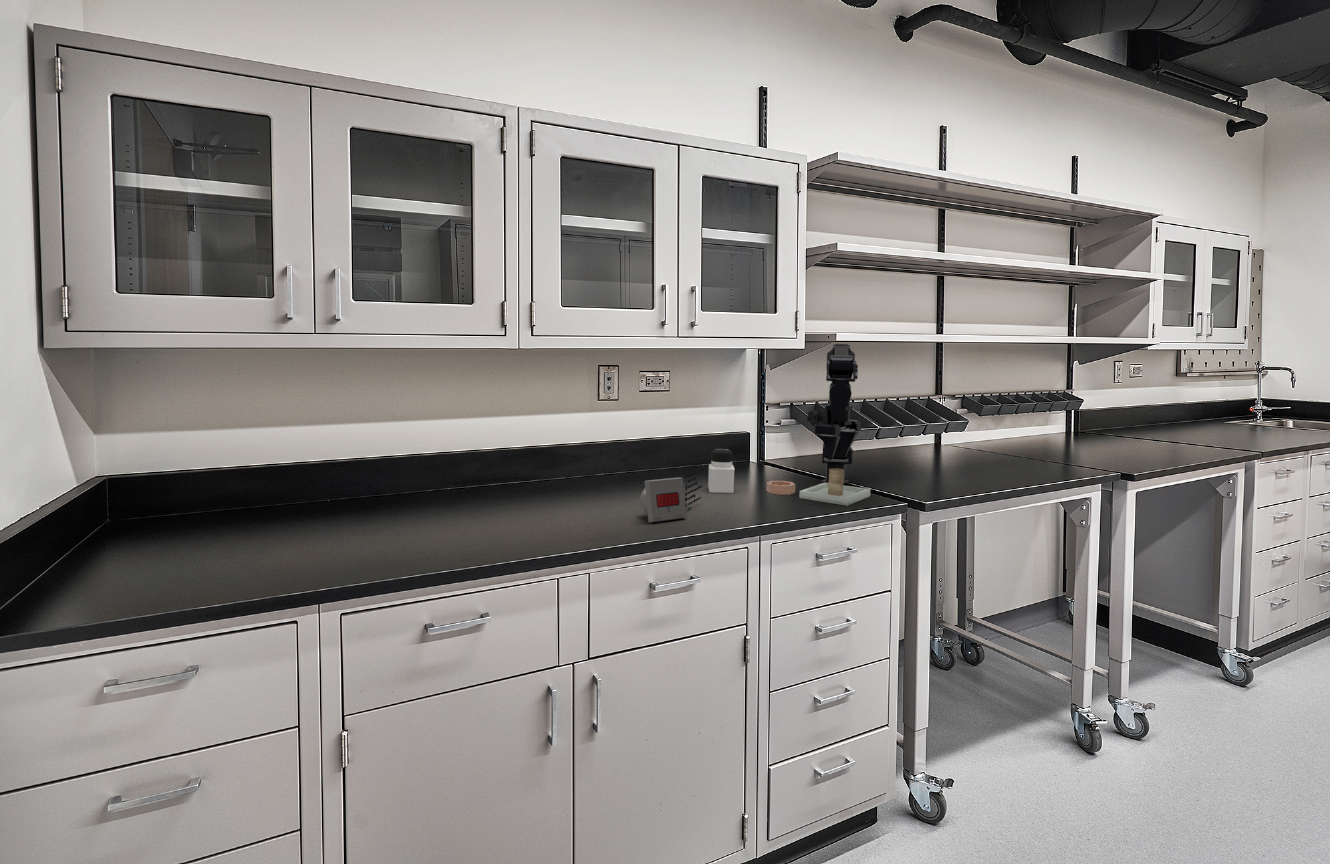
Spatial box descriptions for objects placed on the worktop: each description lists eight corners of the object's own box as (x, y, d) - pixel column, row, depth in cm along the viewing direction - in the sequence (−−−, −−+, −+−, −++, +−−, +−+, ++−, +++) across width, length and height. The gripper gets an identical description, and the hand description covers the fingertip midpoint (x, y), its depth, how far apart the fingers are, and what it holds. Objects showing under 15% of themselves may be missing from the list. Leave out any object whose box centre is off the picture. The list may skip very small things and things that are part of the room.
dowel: (831, 492, 198) (832, 467, 198) (845, 494, 196) (846, 469, 195) (825, 494, 195) (826, 469, 195) (839, 496, 193) (840, 471, 192)
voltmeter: (674, 527, 161) (675, 485, 159) (629, 521, 165) (630, 480, 164) (712, 504, 185) (713, 467, 184) (673, 499, 189) (673, 464, 188)
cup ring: (775, 488, 207) (775, 479, 207) (798, 491, 202) (799, 483, 202) (762, 492, 201) (762, 483, 201) (786, 495, 196) (786, 487, 196)
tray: (824, 489, 206) (824, 482, 206) (870, 496, 198) (870, 489, 198) (799, 498, 194) (799, 490, 193) (847, 505, 185) (847, 498, 185)
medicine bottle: (734, 493, 199) (735, 451, 197) (709, 492, 199) (710, 451, 197) (732, 488, 206) (733, 448, 204) (708, 487, 206) (709, 447, 204)
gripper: (826, 398, 205) (824, 451, 206) (797, 402, 190) (795, 458, 192) (863, 401, 198) (860, 455, 200) (835, 404, 183) (833, 463, 185)
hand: (836, 457), depth 194 cm, fingers open, 9 cm apart
